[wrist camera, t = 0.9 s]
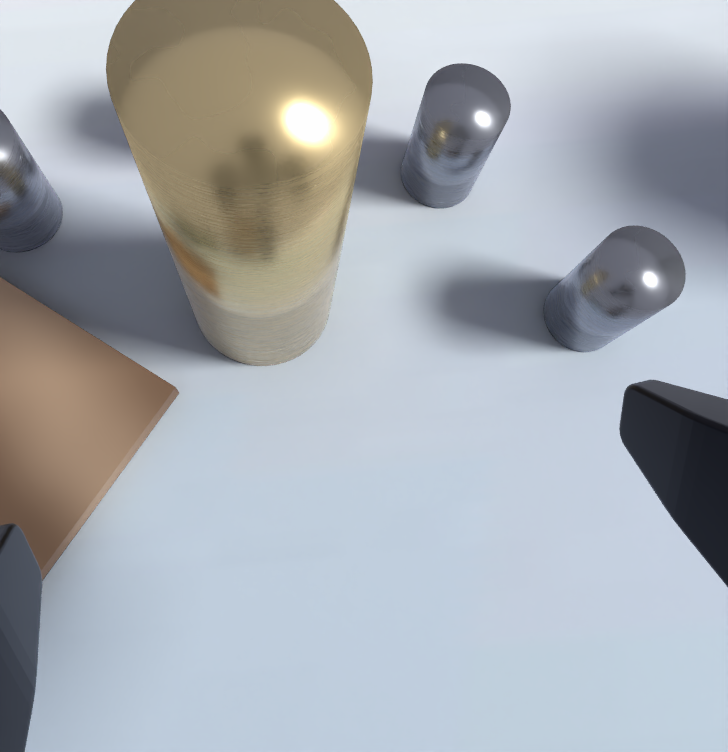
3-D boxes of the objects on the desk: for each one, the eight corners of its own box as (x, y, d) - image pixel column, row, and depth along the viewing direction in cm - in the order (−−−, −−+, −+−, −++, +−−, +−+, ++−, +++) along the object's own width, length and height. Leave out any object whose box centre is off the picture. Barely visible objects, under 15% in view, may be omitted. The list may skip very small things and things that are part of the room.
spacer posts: (615, 357, 25) (685, 317, 20) (-37, 246, 23) (-112, 175, 18) (620, 178, 27) (684, 108, 23) (26, 62, 25) (-28, -39, 21)
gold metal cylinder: (282, 391, 23) (281, 234, 11) (165, 318, 23) (48, 90, 12) (354, 284, 24) (418, 48, 13) (244, 216, 24) (209, -77, 13)
